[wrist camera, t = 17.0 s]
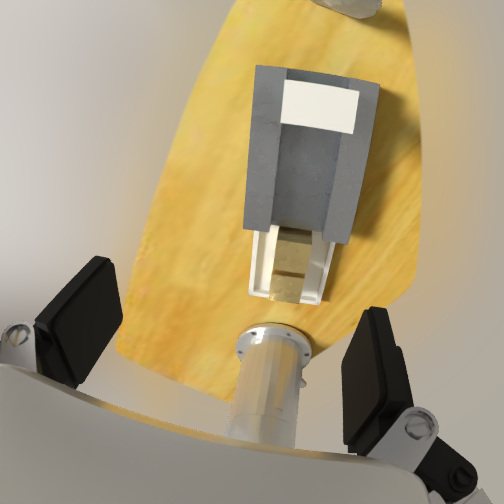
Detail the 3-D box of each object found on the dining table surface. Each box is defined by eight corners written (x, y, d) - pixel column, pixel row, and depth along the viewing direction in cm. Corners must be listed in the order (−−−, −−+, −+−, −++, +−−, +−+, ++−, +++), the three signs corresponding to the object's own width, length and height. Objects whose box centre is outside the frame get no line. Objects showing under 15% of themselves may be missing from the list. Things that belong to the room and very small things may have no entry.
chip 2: (300, 285, 43) (299, 304, 40) (271, 280, 44) (267, 299, 40) (305, 260, 41) (304, 279, 38) (274, 256, 41) (271, 273, 38)
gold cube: (306, 256, 41) (306, 274, 37) (275, 251, 41) (272, 269, 38) (311, 228, 39) (312, 245, 35) (279, 223, 39) (276, 239, 36)
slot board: (344, 228, 38) (347, 244, 35) (248, 214, 40) (242, 228, 36) (371, 83, 29) (380, 84, 25) (261, 66, 30) (255, 65, 27)
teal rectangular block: (337, 115, 30) (352, 134, 21) (287, 108, 30) (280, 122, 21) (341, 86, 28) (359, 91, 19) (290, 78, 28) (284, 79, 19)
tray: (319, 298, 45) (319, 305, 43) (250, 287, 46) (248, 294, 44) (336, 230, 39) (337, 236, 38) (256, 218, 40) (254, 224, 38)
